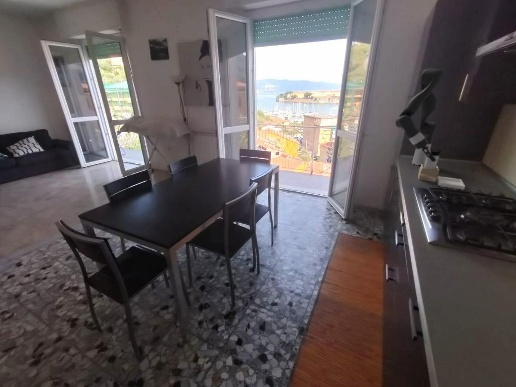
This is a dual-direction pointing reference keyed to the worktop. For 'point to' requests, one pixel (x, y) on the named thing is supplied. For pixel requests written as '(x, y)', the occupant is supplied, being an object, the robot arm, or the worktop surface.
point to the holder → (428, 173)
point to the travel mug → (429, 163)
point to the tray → (450, 183)
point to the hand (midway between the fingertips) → (434, 159)
